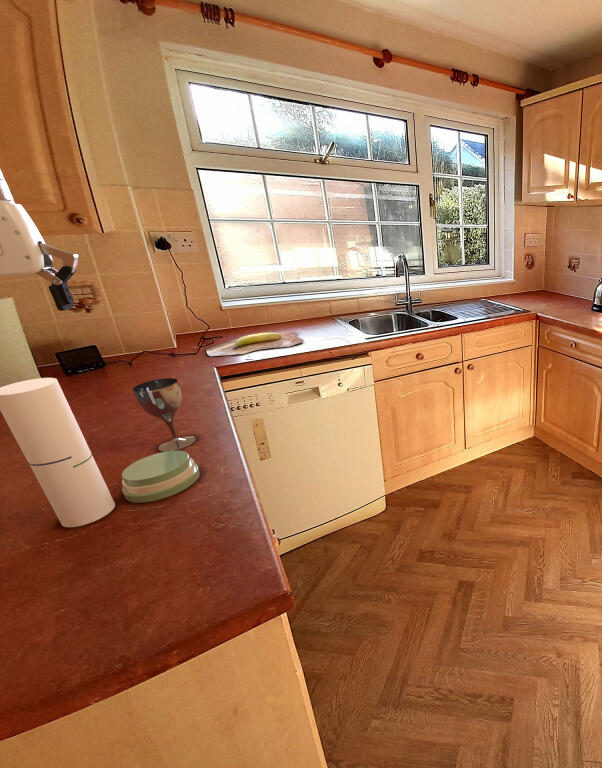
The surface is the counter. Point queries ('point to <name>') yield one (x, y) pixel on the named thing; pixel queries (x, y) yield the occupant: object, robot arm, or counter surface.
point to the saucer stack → (159, 476)
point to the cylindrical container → (56, 450)
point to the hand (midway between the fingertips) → (26, 312)
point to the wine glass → (163, 407)
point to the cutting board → (255, 343)
